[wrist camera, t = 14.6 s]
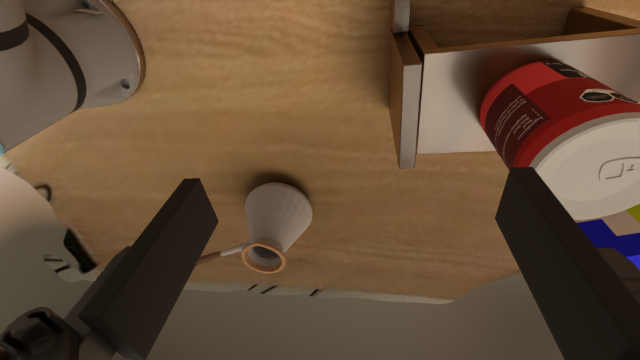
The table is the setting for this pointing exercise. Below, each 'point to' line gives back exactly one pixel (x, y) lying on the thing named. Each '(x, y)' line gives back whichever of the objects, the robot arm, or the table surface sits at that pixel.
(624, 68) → the step shelf
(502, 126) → the canned food
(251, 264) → the coffee pot
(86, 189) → the table surface
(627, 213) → the puzzle toy
